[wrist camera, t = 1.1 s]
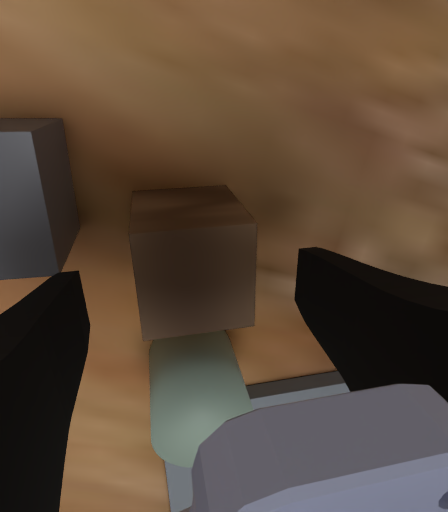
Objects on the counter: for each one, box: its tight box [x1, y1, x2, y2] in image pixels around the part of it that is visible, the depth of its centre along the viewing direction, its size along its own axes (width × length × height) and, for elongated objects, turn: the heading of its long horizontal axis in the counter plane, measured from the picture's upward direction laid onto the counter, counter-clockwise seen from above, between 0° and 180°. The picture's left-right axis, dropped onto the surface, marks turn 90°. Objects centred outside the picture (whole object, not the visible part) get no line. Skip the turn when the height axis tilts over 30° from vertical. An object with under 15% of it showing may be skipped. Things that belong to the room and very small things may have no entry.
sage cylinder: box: [149, 330, 254, 467], centre depth 17 cm, size 4×4×5 cm
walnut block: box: [129, 185, 257, 341], centre depth 14 cm, size 4×4×5 cm
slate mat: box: [165, 371, 350, 512], centre depth 24 cm, size 18×11×1 cm, turn 90°
